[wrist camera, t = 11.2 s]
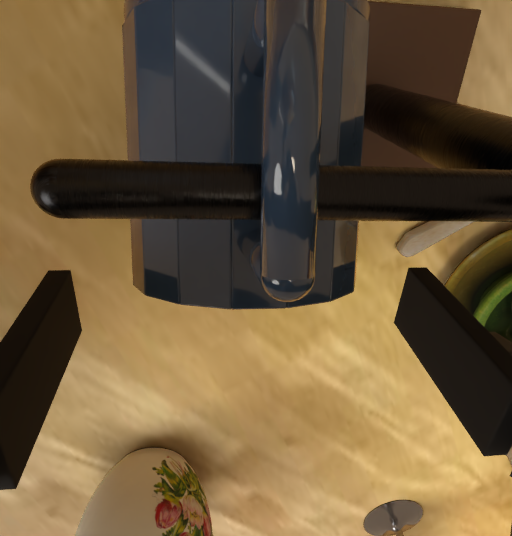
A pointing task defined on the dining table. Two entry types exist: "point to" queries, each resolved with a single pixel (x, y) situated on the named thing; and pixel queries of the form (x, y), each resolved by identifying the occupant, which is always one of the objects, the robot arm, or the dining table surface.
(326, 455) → the dining table surface
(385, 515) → the wine glass
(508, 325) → the tableware set
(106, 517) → the pitcher
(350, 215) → the cup holder
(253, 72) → the mug
